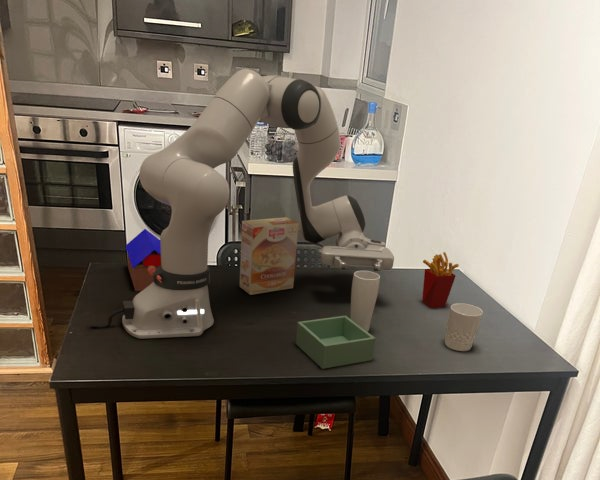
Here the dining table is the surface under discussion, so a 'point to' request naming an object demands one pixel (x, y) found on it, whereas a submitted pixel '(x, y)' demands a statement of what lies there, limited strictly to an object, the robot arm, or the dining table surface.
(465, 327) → the white cup
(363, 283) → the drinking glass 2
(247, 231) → the coffeecake box
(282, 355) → the dining table surface
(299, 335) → the tote
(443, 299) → the french fries
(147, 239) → the house
